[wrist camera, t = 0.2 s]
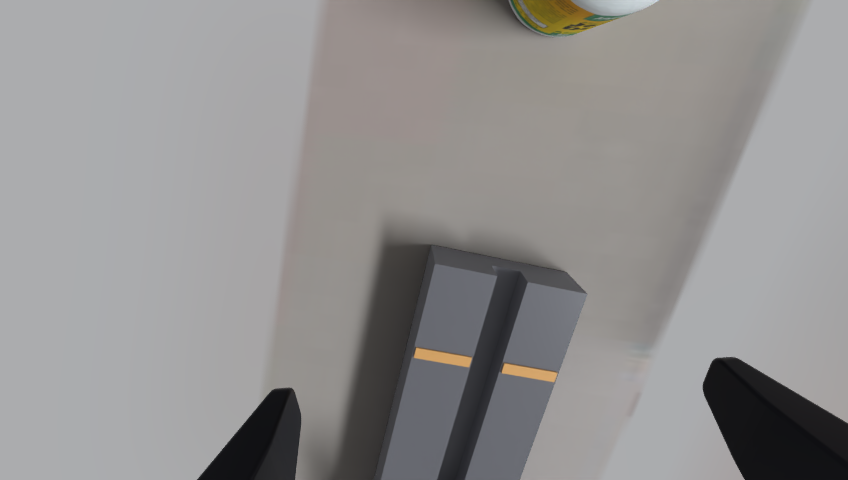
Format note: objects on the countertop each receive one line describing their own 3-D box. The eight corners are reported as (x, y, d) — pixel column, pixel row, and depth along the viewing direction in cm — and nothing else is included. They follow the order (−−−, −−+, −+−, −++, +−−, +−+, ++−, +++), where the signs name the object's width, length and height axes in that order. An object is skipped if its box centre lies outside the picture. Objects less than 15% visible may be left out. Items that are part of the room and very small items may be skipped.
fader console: (477, 532, 31) (485, 577, 28) (364, 517, 30) (360, 562, 27) (566, 272, 26) (588, 294, 23) (431, 244, 25) (435, 264, 22)
